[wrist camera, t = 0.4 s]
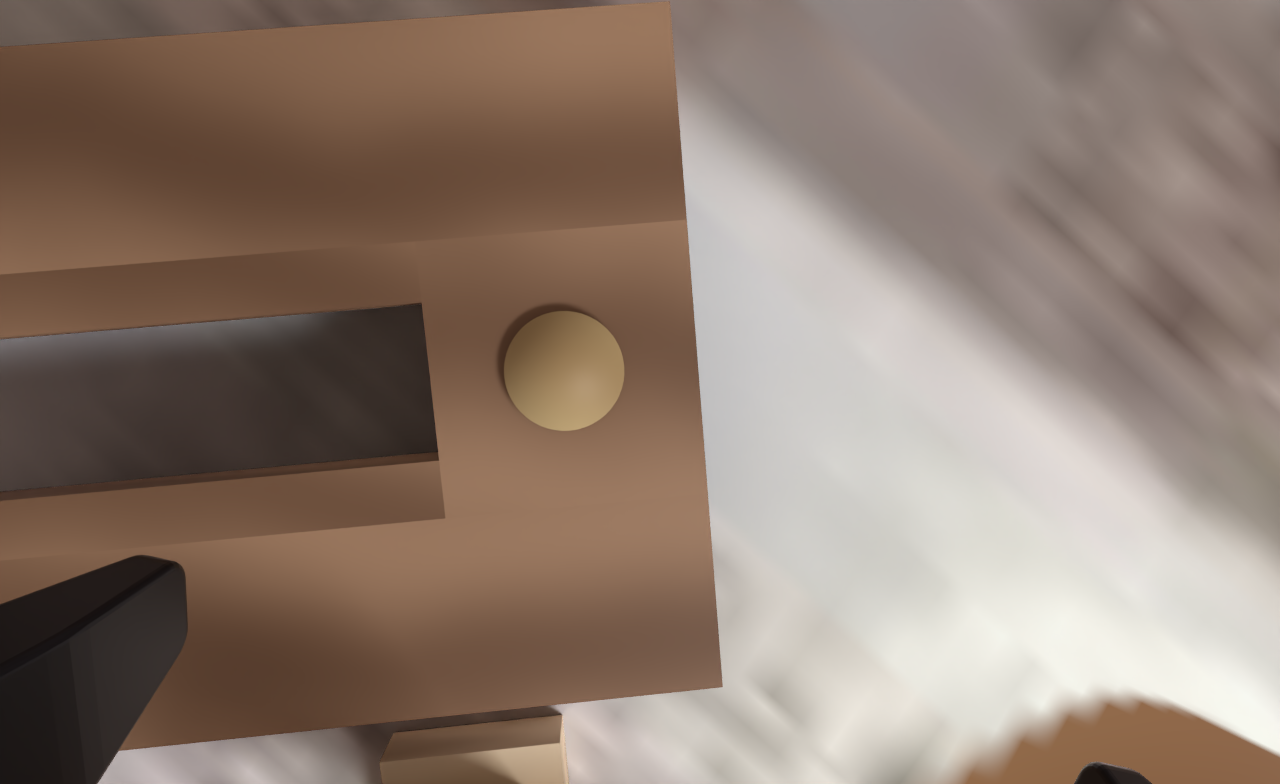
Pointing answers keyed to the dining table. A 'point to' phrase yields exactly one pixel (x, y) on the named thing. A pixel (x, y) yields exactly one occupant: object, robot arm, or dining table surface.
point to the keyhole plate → (455, 339)
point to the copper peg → (479, 754)
